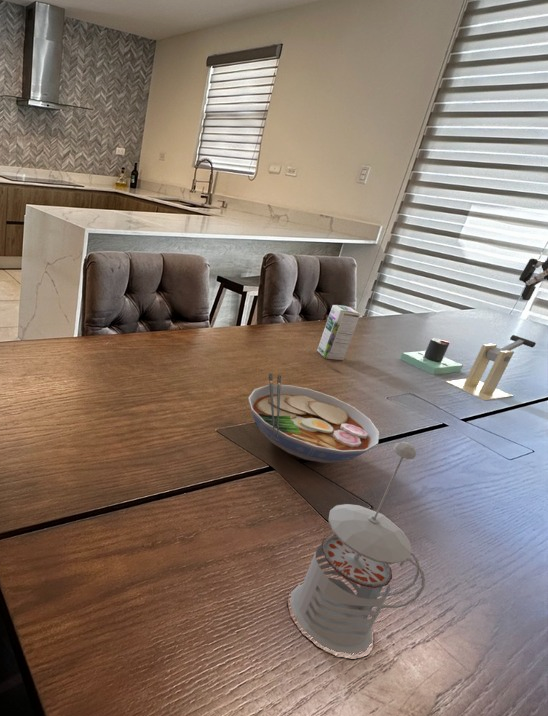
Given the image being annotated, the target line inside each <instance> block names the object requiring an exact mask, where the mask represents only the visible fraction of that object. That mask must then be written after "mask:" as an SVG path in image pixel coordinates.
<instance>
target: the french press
mask: <svg viewBox="0 0 548 716" xmlns="http://www.w3.org/2000/svg"><path fill="white" fill-rule="evenodd" d="M392 450H393V451H392V452H394V454H395V455H396V456H398V457H400V458H399V461H398V463H397V464H396V466H395V469H394V471H393V474H392V476H391V478H390V480H389V483H388V485H387V487H386V489H385V492H384V494H383V497H382V498H381V501H380V502H379V505H378V508H377V509H376V511H375V510H372V509H370V508H368V507H365V506H361V505H359V504H349V503H344V504H336V505H335V506H333V508H331V509H330V510H329V514H328V524H329V525H330V528H331V530H332V532H333V534H330V535H327V536H326V537H325V538H324V539H322V541H321V542H322V543H321V544H320V545H319V546H317V548H316V550H315V552H314V554H313V556H312V559H311V562H310V564H309V567H308V569H307V572H306V575H305V577H304V579H303V581H302V583H301V584H302V585H300V584H297V585H298V586H297V587H296V588H295V589H294V590H293V591H292V592H291V599H290V605H291V608H292V610H293V613H294V615H295V618H297V620H298V622H299V624H300V625H301V626H302V628H303V629H304V631H306V632H307V633H308V634H309V635H311V637H313V639H314V640H315V641H317V642H318V643H320V644H321V645H322V646H324V647H327V648H329V649H330V650H331V649H332V650H334V651H336V652H344V653H345V652H346V653H349V654H350V653H351V655H352V654H353V653H354V654H355V653H359V652H361V651H364V652H365V651H366V650H367V648H368V647H369V645H370V644H371V643H372V630H373V628H372V627H373V626H374V624H375V622H376V620H377V618H378V616H379V614H380V613H381V611H382V609H398V608H402V607H407V606H408V605H410V604H412V603H414V602H415V601H416V600H418V598H419V597H420V596H421V594H422V592H423V590H424V588H425V587H426V577H425V573H424V571H423V570H422V569H421V567H420V563H419V561H420V560H419V559H418V557H416V555H415V554H414V552H412V545H411V541H410V540H409V538H408V537H407V536H406V534H405V532H404V531H403V530H402V529H401V528H400V527H399V526H397V525H396V523H394V522H393V521H391V520H390V519H389V518H388V517H387V516H385V515H384V514H383V513H381V512H380V510H381V508H382V506H383V504H384V502H385V500H386V497H387V495H388V493H389V491H390V488H391V486H392V483H393V482H394V480H395V477H396V475H397V472H398V470H399V468H400V466H401V463H402V462H403V460H404V459H405V460H414V459H415V457H417V456H416V454H417V453H416V452H417V451H416V448H415V446H414V445H413V444H411V443H409V442H408V441H401V442H397V443H395V444H394V445H393V449H392ZM410 555H411V557H412V558H413V559H414V560H412V558H409V557H410ZM321 556H324V557H323V558H320V559H317V558H319V557H321ZM406 561H407V562H410V563H411V564H412V565H414V567H416V574H415V575H414V577H413V579H412V581H411V582H410V583H409V584H408V585H407V586H406V587H404V588H403V589H401V590H399V591H395V592H390V591H391V586H390V585H391V584H390V582H391V581H392V580H393V571H392V568H391V566H390V565H393V564H398V566H400V567H403V565H404V564H405V562H406ZM324 562H325V564H321V563H324ZM326 562H327V563H326ZM320 564H321V565H320ZM328 568H332V569H329V570H324V569H328ZM327 575H334V576H338V577H341V578H342V579H344V580H345V581H346V582H348V583H349V584H350V585H351V586H352V587H353V588H351V587H350V586H349V585H348V584H346V583H345V582H344V581H342V580H341V579H338V578H334V577H332V576H327ZM419 576H420V578H421V585H420V587H419V589H418V590H417V592H416V593H415V595H414V596H413V597H412V598H409V600H408V601H406V602H403V603H398V604H385V605H384V603H385V601H386V599H387V598H388V596H389V597H390V596H397V595H399V594H403V593H405V592H406V591H408V590H410V589H411V588H412V587H413V586H415V584H416V582H417V580H418V578H419ZM384 587H386V589H385V590H384V592H381V591H382V590H383V588H384ZM353 589H354V590H355V591H356V592H357V593H355V592H354V591H353ZM379 597H380V598H379ZM373 608H376V609H375V610H372V609H373ZM369 616H372V617H371V618H369ZM371 628H372V629H371Z"/></svg>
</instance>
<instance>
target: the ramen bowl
mask: <svg viewBox="0 0 548 716" xmlns="http://www.w3.org/2000/svg"><path fill="white" fill-rule="evenodd" d="M273 375H274V374H273V373H271V372H269V374H268V383H269V384H267V385H263V386H261V387H257V388H255V389H253V391H252V392H251V393H250V395H249V396H248V403H249V406H250V410H251V414H252V417H253V419H254V422H255V424H256V426H257V427H258V429H259V431H260V432H261V433H262V434H263V435H264V436H265V438H266V439H268V441H269V442H271V443H272V444H273V445H274V446H276V447H278V448H279V449H281V450H283V451H284V452H286V453H287V454H290V455H292V456H295V457H298V458H300V459H303V460H305V461H311V462H316V463H323V464H331V463H345V462H347V461H351V460H353V459H355V458H357V457H359V456H362V455H363V454H365V453H366V452H368V451H369V450H371V449H372V448H374V447H375V446H377V445H378V444H379V440H380V431H379V430H378V427H377V426H375V424H374V423H373V421H372V420H371V418H369V417H368V416H367V415H365V413H363V412H361V411H360V410H359V409H357V408H356V407H354V405H352V404H349V403H347V402H345V401H342V400H340V399H339V398H336V397H334V396H332V395H329V394H326V393H323V392H321V391H317V390H314V389H311V388H307V387H301V386H297V385H295V386H294V385H289V384H282V375H280V374H278V375H277V378H276V379H277V380H276V381H277V384H274V380H273V379H274V377H273Z"/></svg>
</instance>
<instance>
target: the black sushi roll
mask: <svg viewBox="0 0 548 716" xmlns="http://www.w3.org/2000/svg"><path fill="white" fill-rule="evenodd" d="M450 344H451V343H450V341H447V340H444V339H441V338H436V337H433V338H432V337H431V338H430V340H429V343H428V345H427V347H426V350H425V351H426V352H425V354H424V357H425V358H426V359H428V360H431V361H435V362H441V361H442V359H443V357H445V354H446V352H447V350H448V348H449V346H450Z"/></svg>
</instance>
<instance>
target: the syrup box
mask: <svg viewBox="0 0 548 716" xmlns="http://www.w3.org/2000/svg"><path fill="white" fill-rule="evenodd" d="M360 316H361V313H360V312H358V311H356V309H354V308H353V307H350V306H347V305H341V304H332V306H331V309H330V312H329V314H328V317H327V319H326V323H325V326H324V329H323V331H322V336H321V338H320V340H319V344H318V347H317V350H316V351H317V353H319V354H320V355H321V356H322V357H323V358H324V359H328V360H337V361H344V359H345V358H346V354H347V352H348V349H349V346H350V344H351V341H352V338H353V335H354V332H355V330H356V327H357V325H358V322H359V319H360Z"/></svg>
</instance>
